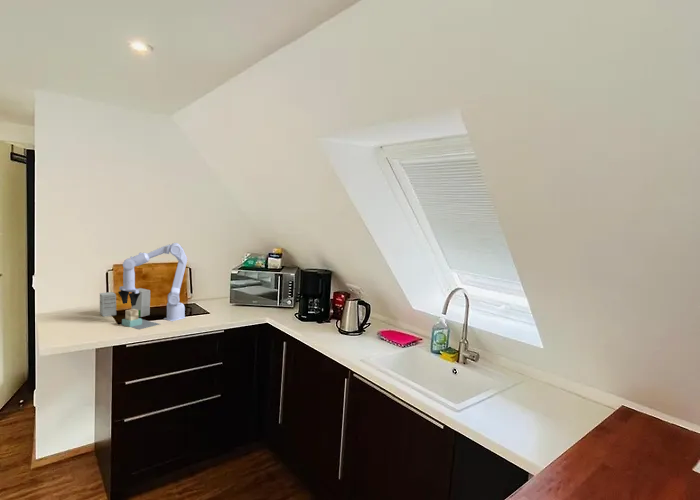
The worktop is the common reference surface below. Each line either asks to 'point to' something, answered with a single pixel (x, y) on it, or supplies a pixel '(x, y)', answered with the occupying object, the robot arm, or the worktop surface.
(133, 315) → the maple block
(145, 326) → the mat
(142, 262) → the robot arm
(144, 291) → the skincare box
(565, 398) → the worktop surface
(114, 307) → the supplement box
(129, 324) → the plinth
